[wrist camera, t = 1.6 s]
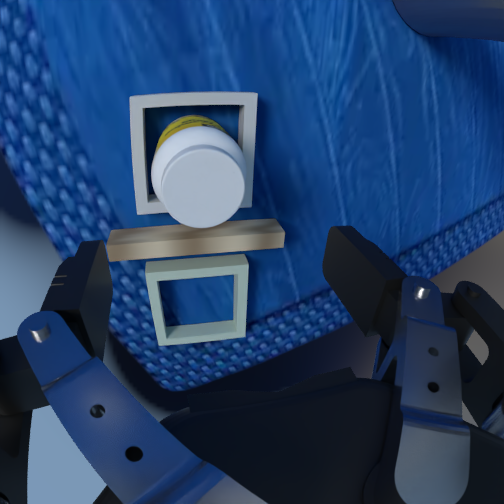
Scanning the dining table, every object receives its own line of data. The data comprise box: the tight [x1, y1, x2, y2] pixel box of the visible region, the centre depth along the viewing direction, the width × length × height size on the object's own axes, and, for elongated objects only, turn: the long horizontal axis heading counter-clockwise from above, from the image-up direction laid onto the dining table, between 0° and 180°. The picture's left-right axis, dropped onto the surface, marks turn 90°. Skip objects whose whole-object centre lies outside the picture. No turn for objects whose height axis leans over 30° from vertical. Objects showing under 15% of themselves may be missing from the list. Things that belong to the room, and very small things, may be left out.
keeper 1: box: [130, 92, 258, 215], centre depth 25 cm, size 10×10×2 cm
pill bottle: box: [151, 115, 247, 228], centre depth 22 cm, size 6×6×11 cm
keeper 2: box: [145, 254, 249, 346], centre depth 34 cm, size 10×10×2 cm
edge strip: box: [106, 219, 285, 261], centre depth 29 cm, size 16×2×3 cm, turn 87°
